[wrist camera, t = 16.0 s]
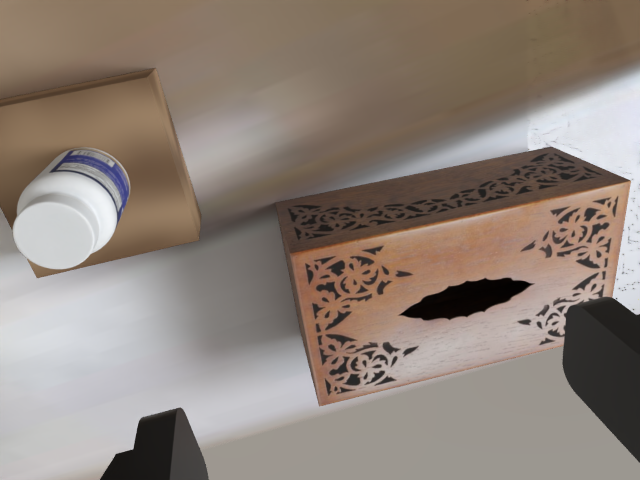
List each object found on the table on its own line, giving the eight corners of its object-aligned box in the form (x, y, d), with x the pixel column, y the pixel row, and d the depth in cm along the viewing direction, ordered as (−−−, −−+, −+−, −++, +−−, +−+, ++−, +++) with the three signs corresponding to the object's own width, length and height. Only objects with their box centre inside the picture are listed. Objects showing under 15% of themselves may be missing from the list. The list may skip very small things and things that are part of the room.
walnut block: (-13, 101, 35) (-47, 116, 30) (155, 68, 36) (147, 77, 32) (56, 248, 40) (37, 278, 36) (201, 214, 41) (199, 240, 37)
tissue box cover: (300, 333, 49) (319, 406, 40) (274, 201, 42) (290, 253, 34) (539, 278, 52) (606, 335, 43) (549, 146, 45) (630, 180, 36)
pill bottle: (87, 231, 35) (49, 297, 27) (31, 173, 33) (-29, 226, 25) (148, 192, 35) (127, 247, 27) (95, 130, 32) (56, 171, 24)
